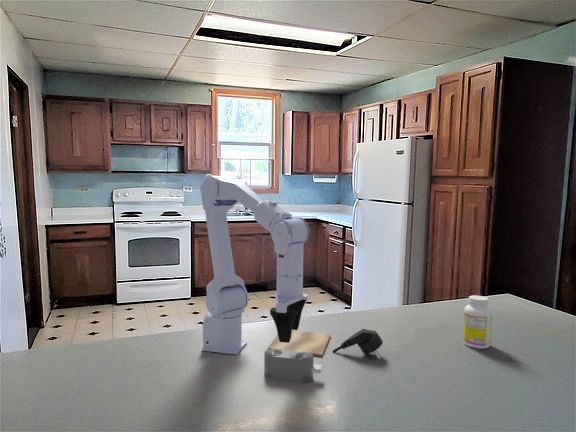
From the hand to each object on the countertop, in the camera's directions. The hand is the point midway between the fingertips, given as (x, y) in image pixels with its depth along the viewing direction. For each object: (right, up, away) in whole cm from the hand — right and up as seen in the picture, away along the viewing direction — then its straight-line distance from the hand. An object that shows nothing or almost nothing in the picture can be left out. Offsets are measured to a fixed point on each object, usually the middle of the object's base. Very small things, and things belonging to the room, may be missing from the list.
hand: (289, 335), depth 90 cm
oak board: (+3, -8, +19) cm, 21 cm away
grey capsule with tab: (0, -9, +1) cm, 9 cm away
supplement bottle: (+50, -9, +20) cm, 55 cm away
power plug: (+17, -9, +13) cm, 23 cm away
